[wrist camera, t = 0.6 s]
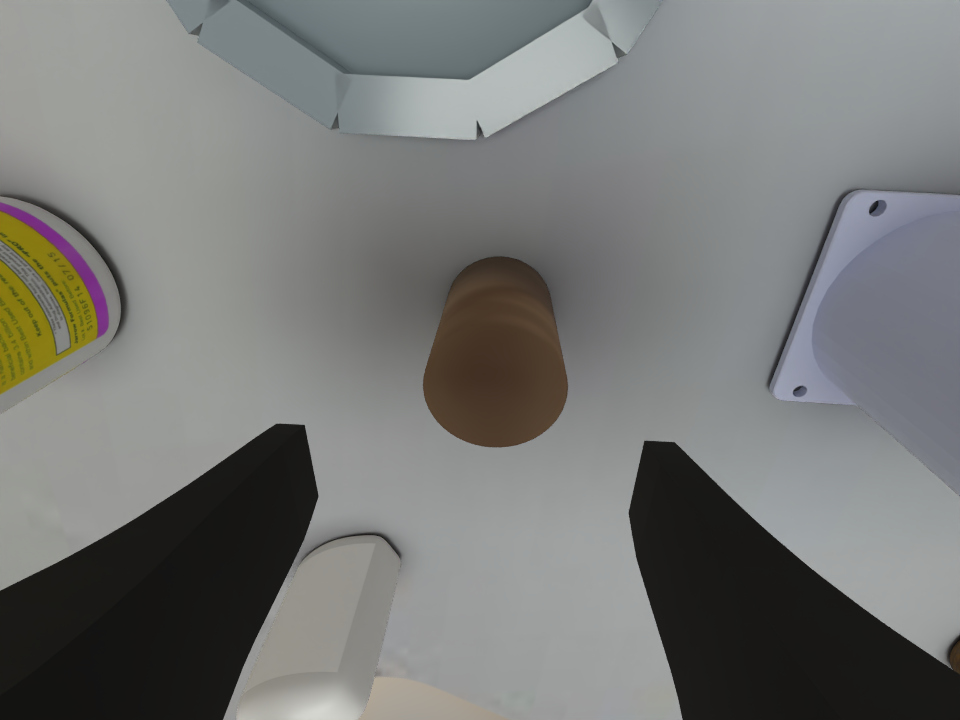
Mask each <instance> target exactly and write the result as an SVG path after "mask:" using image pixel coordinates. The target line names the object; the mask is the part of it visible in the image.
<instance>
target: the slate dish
mask: <svg viewBox="0 0 960 720" xmlns="http://www.w3.org/2000/svg"><path fill="white" fill-rule="evenodd" d="M167 2H168V3H169V5H170V6H171V8H172V9H173V11H174V12H175V14H176V15H177V17H178V19H179V20H180V22H181V23H182V25H183V26H184V28H185V29H186V31H187V32H188V34H193V35H198V36H199V38H198V42H197V43H199V44H200V45H202V46H203V47H205V48H206V49H208V50H209V51H211V52H212V53H214V54H216V55H217V56H219V57H220V58H222V59H223V60H225V61H226V62H228V63H229V64H231V65H232V66H234V67H235V68H237V69H238V70H240V71H241V72H243V73H244V74H246V75H248V76H249V77H251V78H252V79H254V80H255V81H257V82H258V83H260V84H261V85H263V86H264V87H266V88H267V89H269V90H270V91H272V92H273V93H275V94H276V95H278V96H280V97H281V98H283V99H284V100H286V101H287V102H289V103H290V104H292V105H293V106H295V107H296V108H298V109H299V110H301V111H302V112H304V113H305V114H307V115H308V116H310V117H312V118H313V119H315V120H316V121H318V122H319V123H321V124H322V125H324V126H325V127H327V128H328V129H330V130H332V129H337V128H339V132H340V133H350V134H369V135H388V136H408V137H427V138H446V139H465V140H477V138H478V137H479V136H480V128H481V129H482V131H483V134H484V136H485V138H486V137H488V136H490V135H491V134H493V133H495V132H497V131H499V130H500V129H502V128H504V127H506V126H507V125H509V124H511V123H513V122H514V121H516V120H518V119H520V118H522V117H523V116H525V115H527V114H529V113H530V112H532V111H534V110H536V109H537V108H539V107H541V106H543V105H544V104H546V103H548V102H550V101H552V100H553V99H555V98H557V97H559V96H560V95H562V94H564V93H566V92H567V91H569V90H571V89H573V88H575V87H576V86H578V85H580V84H582V83H583V82H585V81H587V80H589V79H590V78H592V77H594V76H596V75H598V74H599V73H601V72H603V71H605V70H606V69H608V68H610V67H612V66H613V65H615V64H617V63H618V60H617V58H618V57H621V56H624V55H627V54H628V52H629V51H630V49H631V48H632V46H633V45H634V43H635V42H636V40H637V39H638V37H639V36H640V34H641V33H642V31H643V30H644V28H645V27H646V25H647V24H648V22H649V21H650V19H651V18H652V16H653V15H654V13H655V12H656V10H657V9H658V7H659V6H660V4H661V3H662V2H663V0H167Z"/></svg>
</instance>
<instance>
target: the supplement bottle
mask: <svg viewBox="0 0 960 720" xmlns="http://www.w3.org/2000/svg"><path fill="white" fill-rule="evenodd" d="M120 316H121V304H120V296H119V292H118V289H117V286H116V283H115V280H114V278H113V276H112V274H111V272H110V270H109V268H108V266H107V265H106V263H105V262H104V260H103V259H102V258H101V256H100V255H99V254H98V252H97V251H96V250H95V248H94V247H93V246H92V245H91V244H90V243H89V242H88V241H87V240H86V239H85V238H84V237H83V236H82V235H81V234H80V233H79V232H77V231H76V230H75V229H74V228H73V227H71V226H70V225H69V224H68V223H66V222H64V221H63V220H61V219H60V218H58V217H57V216H55V215H53V214H51V213H50V212H48V211H46V210H44V209H42V208H40V207H37V206H35V205H33V204H30V203H27V202H24V201H21V200H18V199H13V198H8V197H2V196H0V414H2V413H3V412H5V411H6V410H8V409H10V408H11V407H13V406H15V405H16V404H18V403H19V402H21V401H23V400H24V399H26V398H27V397H29V396H31V395H32V394H34V393H35V392H37V391H39V390H40V389H42V388H43V387H45V386H47V385H48V384H50V383H52V382H53V381H55V380H56V379H58V378H60V377H61V376H63V375H65V374H66V373H68V372H69V371H71V370H73V369H74V368H76V367H77V366H79V365H80V364H82V363H84V362H85V361H87V360H88V359H90V358H91V357H93V356H94V355H96V354H97V353H99V352H100V351H101V350H103V349H104V348H105V347H106V346H107V345H108V344H109V343H110V341H111V340H112V339H113V337H114V336H115V333H116V331H117V329H118V326H119V322H120Z"/></svg>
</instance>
